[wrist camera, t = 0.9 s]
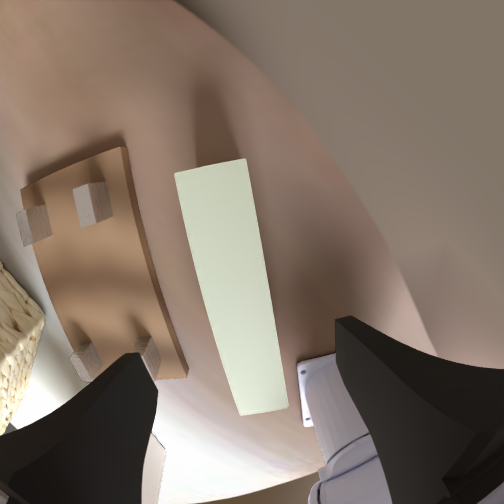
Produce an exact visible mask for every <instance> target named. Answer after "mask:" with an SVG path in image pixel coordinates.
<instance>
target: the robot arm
mask: <svg viewBox="0 0 504 504" xmlns="http://www.w3.org/2000/svg"><path fill="white" fill-rule="evenodd" d="M335 342H336V353H334V354H331V355H327V356H323V357H319V358H314V359H310V360H306V361H302V362H299V363H298V364H297V373H298V381H299V390H300V399H301V409H302V418H303V425H304V426H305V427H309V426H314V429H315V432H316V435H317V439H318V442H319V446H320V449H321V453H322V456H323V459H324V463H325V466H324V467H322V468H320V469H318V473H319V477H320V480H321V481H318V482H316V483H315V484H314V485H313V487H312V488H311V491H310V495H309V498H308V504H504V369H493V368H483V367H476V366H470V365H465V364H461V363H456V362H452V361H448V360H445V359H441V358H438V357H435V356H432V355H429V354H427V353H424V352H421V351H419V350H416V349H414V348H412V347H410V346H407V345H405V344H403V343H401V342H399V341H397V340H395V339H393V338H391V337H389V336H387V335H385V334H383V333H381V332H380V331H378V330H376V329H374V328H372V327H371V326H369V325H367V324H365V323H364V322H362V321H360V320H358V319H357V318H355V317H353V316H347V317H343V318H339V319H335ZM303 370H305V371H303ZM301 371H303V372H301ZM157 398H158V389H157V387H156V386H155V384H154V382H153V380H152V378H151V376H150V374H149V372H148V370H147V368H146V366H145V364H144V362H143V360H142V358H141V355H140V353H139V352H134V353H125V354H124V355H122V356H121V357H119V358H118V359H117V360H116V361H115V362H113V363H112V364H111V365H110V366H109V367H108V368H107V369H105V370H104V371H103V372H102V373H101V374H100V375H99V376H98V377H96V378H95V379H94V380H93V381H92V382H91V383H90V384H89V385H87V386H86V387H85V388H84V389H82V390H81V391H80V392H79V393H78V394H76V395H75V396H74V397H73V398H72V399H70V400H69V401H68V402H66V403H65V404H63V405H62V406H61V407H59V408H58V409H56V410H55V411H53V412H52V413H50V414H48V415H47V416H45V417H43V418H41V419H39V420H37V421H35V422H34V423H32V424H30V425H28V426H25V427H23V428H21V429H18V430H16V431H13V432H10V433H7V434H4V435H1V436H0V489H1V490H2V491H3V492H4V493H6V494H7V495H8V496H9V499H8V501H7V500H5V499H4V498H3V497H1V496H0V504H142V478H143V467H144V461H145V456H146V452H147V447H148V443H149V439H150V435H151V431H152V427H153V423H154V419H155V414H156V408H157Z"/></svg>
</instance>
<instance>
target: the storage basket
mask: <svg viewBox="0 0 504 504" xmlns="http://www.w3.org/2000/svg"><path fill="white" fill-rule="evenodd" d="M44 325H46V321H45V315H44V313H43V312H42V310H41V308H40V307H39V306H38V305H37V304H36V303H35V302H34V301H33V300H32V299H31V298H30V297H29V296H28V294H27V292H26V291H25V290H24V289H23V288H22V287H21V286H20V285H19V284H18V283H17V282H16V280H15V279H14V277H13V276H12V275H11V274H10V273H9V272H8V271H6V270H5V269H4V268H3V264H2V263H1V261H0V436H1V435H2V434H3V433H4V432H5V429H6V426H8V423H9V422H10V420H11V418H12V415H13V414H15V412H16V410H17V409H18V406H19V405H20V403H21V402H22V400H23V397H24V394H25V392H26V388H27V386H28V383H29V379H30V376H31V369H32V366H33V360H34V358H35V355H36V352H37V345H38V343H39V341H40V338H41V334H42V329H43V326H44Z"/></svg>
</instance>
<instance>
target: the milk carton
mask: <svg viewBox="0 0 504 504" xmlns="http://www.w3.org/2000/svg"><path fill="white" fill-rule="evenodd" d="M165 458H166V450H165V449H164V448H163V447H162V446H161V444H160V443H159V442H158V441H157V439H156V438H155V437H154V436H153V434H152V433H151V435H150V439H149V443H148V447H147V452H146V456H145V461H144V467H143V478H142V504H158V499H159V493H160V487H161V481H162V475H163V469H164V464H165Z"/></svg>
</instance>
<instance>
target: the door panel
mask: <svg viewBox="0 0 504 504" xmlns="http://www.w3.org/2000/svg"><path fill="white" fill-rule="evenodd" d="M174 176H175V181H176V186H177V191H178V196H179V201H180V205H181V210H182V214H183V219H184V223H185V228H186V232H187V236H188V241H189V245H190V249H191V253H192V257H193V261H194V265H195V269H196V273H197V277H198V281H199V284H200V288H201V292H202V296H203V299H204V303H205V306H206V310H207V314H208V317H209V321H210V324H211V327H212V331H213V334H214V338H215V341H216V344H217V347H218V351H219V354H220V357H221V360H222V363H223V367H224V370H225V373H226V376H227V379H228V382H229V385H230V388H231V391H232V394H233V397H234V400H235V403H236V405H237V408H238V411H239V414H240V416H242V415H249V414H256V413H263V412H269V411H274V410H280V409H285V408H289V406H288V400H287V393H286V387H285V381H284V375H283V369H282V362H281V356H280V350H279V344H278V338H277V332H276V326H275V320H274V314H273V308H272V302H271V296H270V290H269V285H268V279H267V273H266V267H265V261H264V256H263V250H262V244H261V239H260V233H259V227H258V222H257V216H256V210H255V205H254V199H253V194H252V188H251V183H250V177H249V172H248V167H247V161H246V158H244V159H238V160H233V161H227V162H222V163H217V164H213V165H208V166H203V167H199V168H194V169H190V170H185V171H181V172H177V173H174Z"/></svg>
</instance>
